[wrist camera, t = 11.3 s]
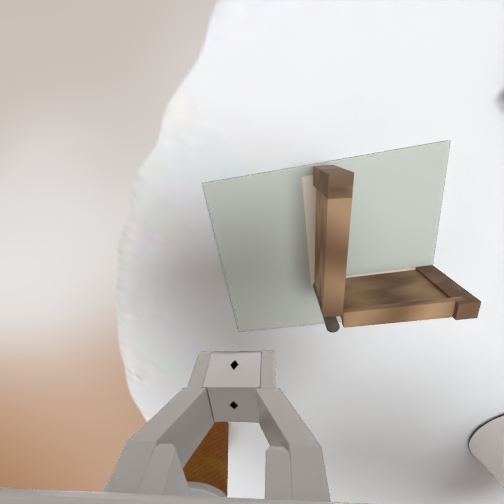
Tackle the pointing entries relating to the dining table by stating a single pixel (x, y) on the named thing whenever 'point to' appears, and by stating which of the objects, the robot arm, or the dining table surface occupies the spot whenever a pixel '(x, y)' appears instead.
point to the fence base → (402, 299)
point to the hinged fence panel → (332, 235)
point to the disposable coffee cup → (209, 464)
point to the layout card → (304, 222)
